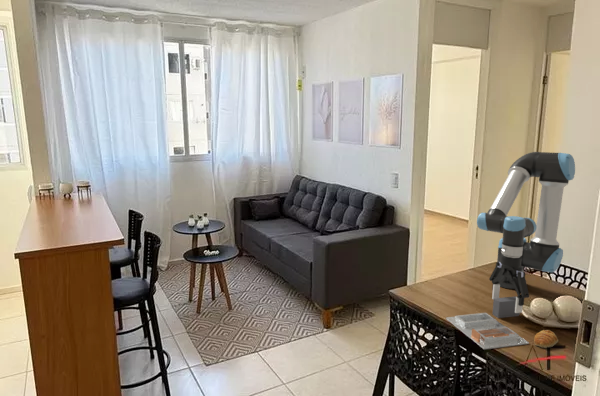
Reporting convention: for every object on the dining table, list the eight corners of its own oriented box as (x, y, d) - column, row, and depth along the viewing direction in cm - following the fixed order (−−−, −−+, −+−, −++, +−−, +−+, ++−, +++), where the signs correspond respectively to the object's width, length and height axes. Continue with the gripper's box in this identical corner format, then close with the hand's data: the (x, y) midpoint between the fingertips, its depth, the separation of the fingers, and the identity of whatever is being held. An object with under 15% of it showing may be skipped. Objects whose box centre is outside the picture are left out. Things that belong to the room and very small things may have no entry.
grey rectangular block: (513, 312, 176) (515, 296, 175) (519, 315, 173) (521, 299, 172) (492, 314, 174) (493, 298, 173) (498, 318, 171) (499, 301, 170)
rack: (485, 314, 174) (486, 306, 173) (528, 343, 151) (529, 334, 150) (446, 318, 170) (446, 310, 169) (484, 349, 147) (484, 339, 146)
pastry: (549, 352, 146) (550, 341, 145) (528, 344, 151) (529, 334, 150) (558, 342, 152) (559, 332, 151) (538, 336, 157) (539, 326, 156)
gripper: (483, 247, 180) (479, 294, 184) (526, 265, 156) (520, 319, 160) (498, 246, 182) (494, 293, 185) (543, 264, 158) (537, 317, 161)
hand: (506, 305), depth 172 cm, fingers open, 13 cm apart
